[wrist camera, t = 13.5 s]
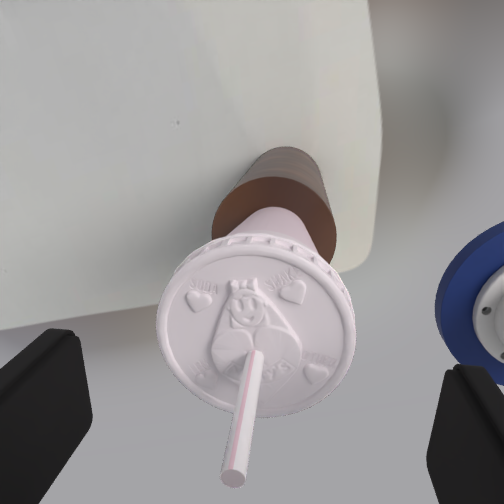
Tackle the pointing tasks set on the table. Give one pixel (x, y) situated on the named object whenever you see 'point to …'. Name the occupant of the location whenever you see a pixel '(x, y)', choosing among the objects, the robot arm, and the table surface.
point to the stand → (281, 196)
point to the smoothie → (257, 327)
